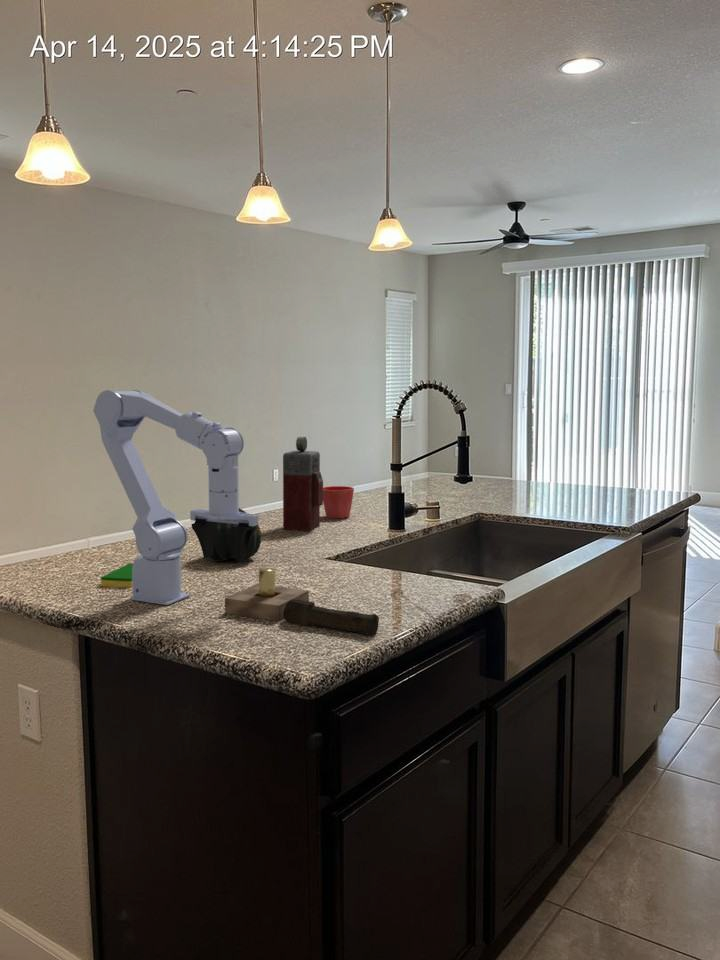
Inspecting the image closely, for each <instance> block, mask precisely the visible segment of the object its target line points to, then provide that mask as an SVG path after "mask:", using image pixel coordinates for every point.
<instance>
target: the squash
mask: <svg viewBox="0 0 720 960" xmlns="http://www.w3.org/2000/svg"><path fill="white" fill-rule="evenodd" d="M239 512H243V513H247V512H246V511H245V510H243V509H241V508H240V507H239ZM235 526H239V524H232V523H222V522H216V525H215V529H214V536H213V556H212V557H209V558H210V559H211V560H212V561H214V562H224V561H227V560H229V559H230V558H231V559H236V544H235V538H234V534H233V530H232V527H235ZM261 542H262V531H261V528H260V525H259V524H258V525H257V528H256V530H255V532H254V534H253V536H252V538H251V540H250V543H249V546H248V549H247V553H246V558H245V560H244V561H242V562H241V563H243V562H246V561H248V560H249V559H251V558H252V557H254V556H255V555H256V554H257V552H259V549H260V547H261Z"/></svg>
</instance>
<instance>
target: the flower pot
mask: <svg viewBox="0 0 720 960" xmlns="http://www.w3.org/2000/svg"><path fill="white" fill-rule="evenodd" d="M354 491H355V488H354V487H351V486H345V485H343V486H342V485H340V486H339V485H337V486H336V485H335V486H334V485H333V486H323V508H324V512H325V516H326V518H328V517H329V518H328V519H346V518H345V517H347V518H349V517H350V514H351V511H352V510H351V509H352V504H353V498H354Z"/></svg>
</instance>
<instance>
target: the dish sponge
mask: <svg viewBox="0 0 720 960" xmlns="http://www.w3.org/2000/svg"><path fill="white" fill-rule="evenodd" d="M132 567H133V563H128V564H125V565H123V566H122V567H119V568H117V569H115V570H113V571H111V572H109V573H107V574H105V575H103V576H101V577H100V579H101V580H100V585H101V587H109V588H111V587H112V588H125V587H126V588H127V589H129V588H131V589H132ZM126 588H125V589H126Z"/></svg>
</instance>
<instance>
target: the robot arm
mask: <svg viewBox="0 0 720 960" xmlns="http://www.w3.org/2000/svg"><path fill="white" fill-rule="evenodd" d="M92 410H93V414H94V416H95V418H96V420H97V423H98V425H99V429H100V436H101V441H102V444H103V446H104V448H105V451H106V453H107V455H108V457H109V459H110V461H111V463H112V466H113V467H114V470H115V472H116V474H117V476H118V478H119V481H120V483H121V485H122V487H123V489H124V492H125V494H126V496H127V498H128V500H129V503H130V504H131V507H132V508H133V510H134V513H135V515H136V516H137V517H136V518H137V519H136V521H135V523H134V524H133V525H132V531H133V534H134V537H135V545H136V549H137V551H138V552H139V554H140V555H138V556H137V557H136V558H135V559H134V561H133V563H132V564H133V567H132V587H131V589H132V596H130V597H129V600H131V601H137V602H143V603H144V602H145V603H151V604H157V605H163V606H164V605H165V606H169V605H171V604H173V603H177V602H178V601H180V600H181V601H182V600H184V599H186V598H188V597H190V596H191V593H188V592H182V570H181V569H182V568H181V567H182V566H181V565H182V563H181V562H182V561H181V560H182V558H181V555H182V554H183V549H184V547H186V545H187V543H188V539H189V538H188V537H189V536H188V531H187V529H186V527H185V525H184V524H183V523H181V522H180V521H179V520H178V518H177V517H176V514H175V513H174V512H172V511H171V510H170V509H169V508H166V507H165V506H164V505H163V503H162V502H161V499H160V497H159V495H158V492H157V490H156V489H155V487H154V484H153V482H152V480H151V478H150V476H149V474H148V472H147V470H146V467H145V465H144V463H143V462H142V459H141V456H140V455H139V452H138V451H137V448H136V447H135V444H134V441H133V439H132V438H133V436H134V434H135V433H136V432H137V430H138V428H139V427H140V426H141V424H142V422H143V421H144V419H145V418H148V419H150V420H152V421H155V422H158V423H159V424H162V425H163V426H166V427H168V428H171V429H172V430H174V431H175V434H176V437H177V438H178V439H180V440H182V441H184V442H186V443H188V444H189V445H192V446H193V447H196V448H198V449H200V450H201V451H202V454H204V456H205V457H206V465H207V466H208V469H207V470H208V509H192V510H190V511H189V512H190V514H189V515H190V519H189V520H190V521H194V523H191V529H192V530H193V532H194V534H195V535H196V538H197V540H198V542H199V545H200V548H201V552H202V556H203V558H204V559H208V558H209V557H212V556H213V536H214V529H215V525H216V522H222V523H232V524H239V526H235V527H232V530H233V534H234V538H235V544H236V558H235V560H236V562H237V563H243V562H245V561H244V560H245V558H246V553H247V549H248V546H249V543H250V540H251V538H252V536H253V534H254V532H255V530H256V528H257V525H259V514H252V513H248V512H246V513H243V512H239V508H240V507H239V506H240V505H239V455H240V454H241V453H242V451H243V450H244V445H245V444H244V443H245V441H244V438H243V435H242V434H241V432H239V431H238V430H237V429H236V428H235V427H225V428H223V427H222V426H221V423H220V422H218V421H214V422H212V421H210V420H209V419H207V418H205V417H202V415H203V414H202V413H201V412H199V411H187V412H186V413H184V414H183V413H181V412H179V411H178V410H176V409H174V408H172V407H171V406H169V405H166V404H165V403H163V402H161V401H159V399H157V398H154V397H153V396H152V395H151V394H150V393H147V392H143V391H142V390H139V389H133V390H111V389H107V390H106V389H105V390H102V391H101V392H100V393H99V394H98V396H97V398H96V400H95V404H94V406H93V409H92ZM242 561H243V562H242Z"/></svg>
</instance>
